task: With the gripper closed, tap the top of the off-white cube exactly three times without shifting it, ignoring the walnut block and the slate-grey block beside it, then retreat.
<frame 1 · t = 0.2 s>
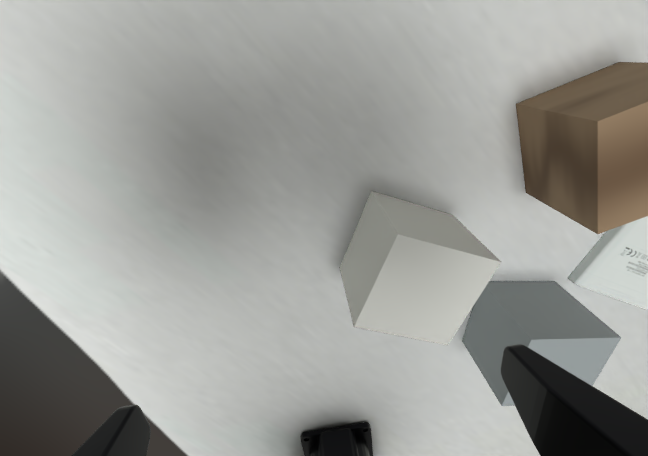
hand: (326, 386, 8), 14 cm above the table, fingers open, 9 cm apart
slate-grey block: (506, 311, 27), on the table
walnut block: (567, 132, 21), on the table
off-white cube: (393, 239, 24), on the table
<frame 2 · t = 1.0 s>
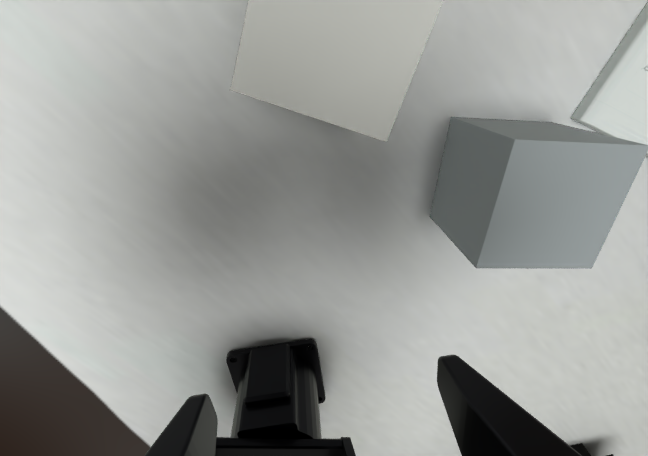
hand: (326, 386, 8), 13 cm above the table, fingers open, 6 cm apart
slate-grey block: (487, 171, 20), on the table
off-white cube: (323, 38, 17), on the table
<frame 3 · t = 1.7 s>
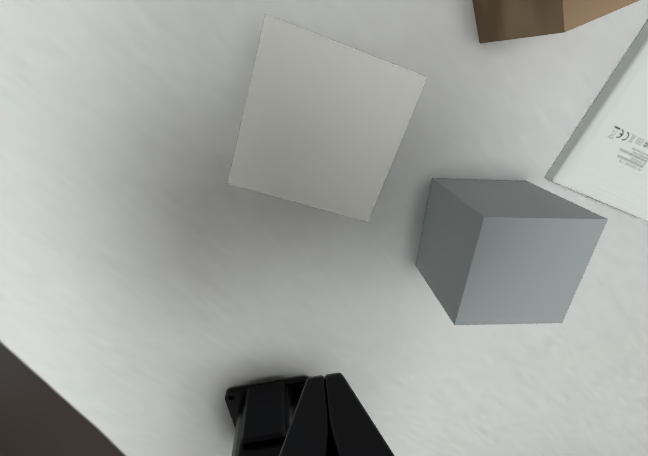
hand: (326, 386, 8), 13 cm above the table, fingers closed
slate-grey block: (467, 224, 22), on the table
off-white cube: (313, 113, 18), on the table
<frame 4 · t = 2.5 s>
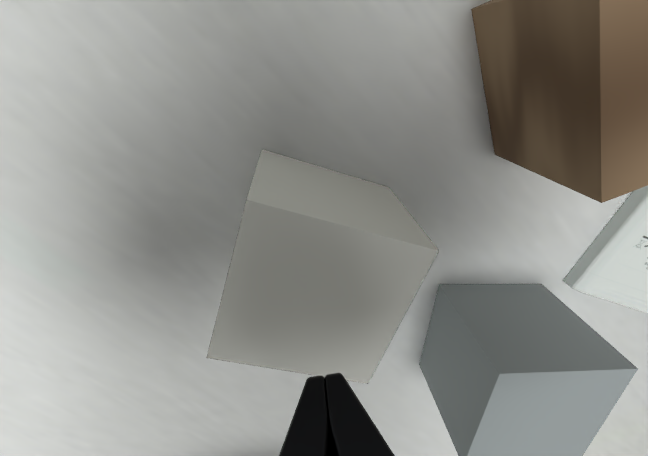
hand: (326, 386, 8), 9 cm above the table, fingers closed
slate-grey block: (476, 325, 20), on the table
walnut block: (553, 58, 14), on the table
off-white cube: (307, 224, 17), on the table
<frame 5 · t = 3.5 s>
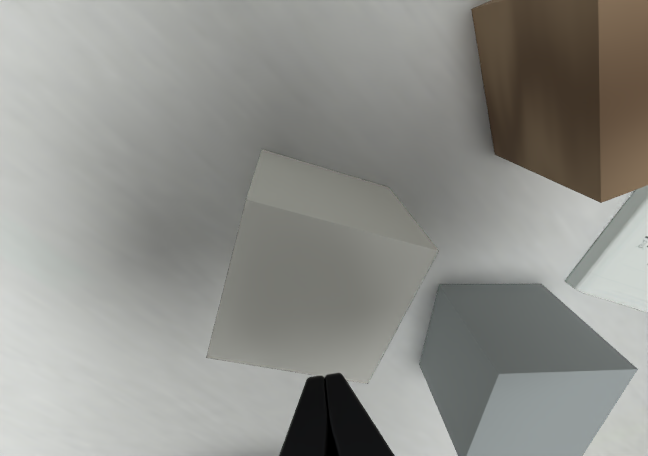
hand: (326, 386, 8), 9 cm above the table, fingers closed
slate-grey block: (476, 325, 20), on the table
walnut block: (553, 58, 14), on the table
off-white cube: (307, 224, 17), on the table
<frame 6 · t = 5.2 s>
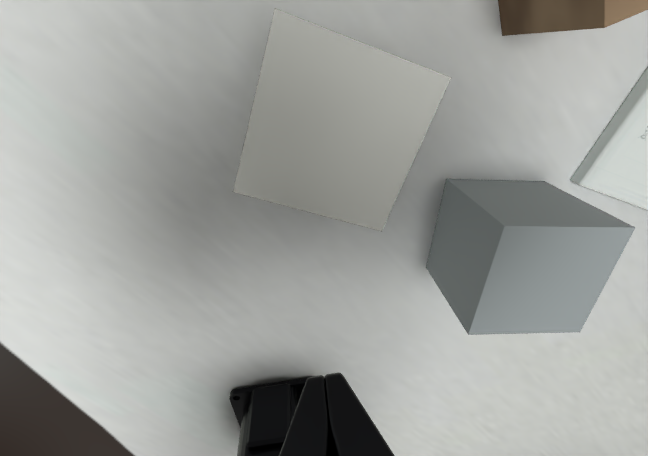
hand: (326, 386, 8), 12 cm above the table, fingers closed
slate-grey block: (481, 226, 21), on the table
off-white cube: (321, 110, 17), on the table
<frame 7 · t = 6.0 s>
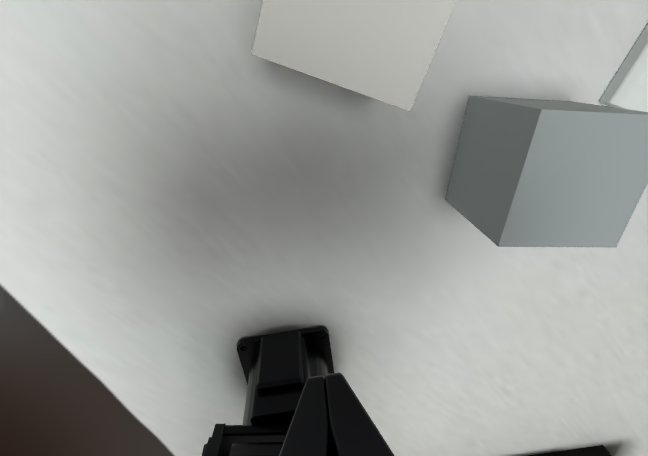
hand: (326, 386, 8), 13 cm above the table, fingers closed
slate-grey block: (504, 152, 20), on the table
off-white cube: (340, 12, 16), on the table
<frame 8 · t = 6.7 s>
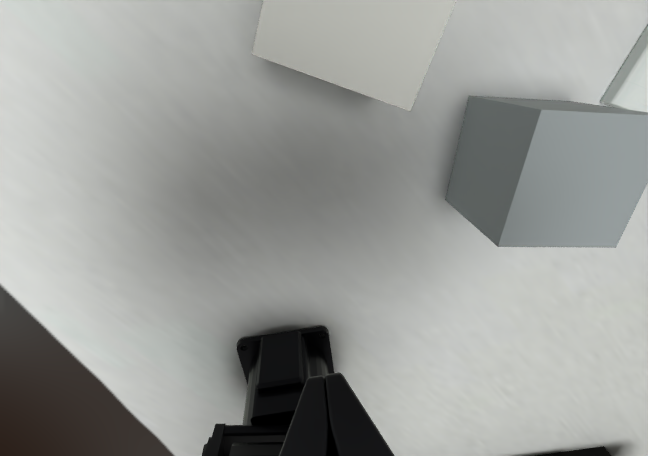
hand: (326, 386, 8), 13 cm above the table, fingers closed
slate-grey block: (504, 152, 20), on the table
off-white cube: (339, 12, 16), on the table
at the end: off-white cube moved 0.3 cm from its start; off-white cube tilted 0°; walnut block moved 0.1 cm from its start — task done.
